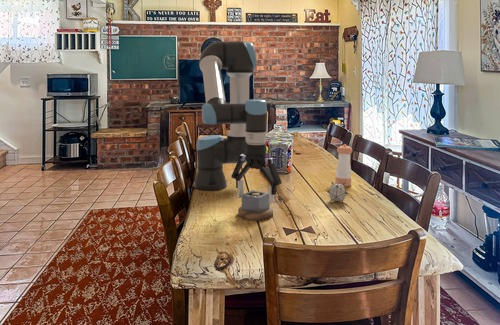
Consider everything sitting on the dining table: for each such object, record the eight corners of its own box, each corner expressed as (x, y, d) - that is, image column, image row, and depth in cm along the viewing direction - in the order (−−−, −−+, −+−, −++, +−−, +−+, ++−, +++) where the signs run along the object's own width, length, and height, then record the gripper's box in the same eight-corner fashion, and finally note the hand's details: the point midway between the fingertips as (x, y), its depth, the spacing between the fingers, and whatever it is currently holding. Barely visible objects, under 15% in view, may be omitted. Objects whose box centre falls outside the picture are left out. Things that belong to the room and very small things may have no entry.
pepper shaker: (348, 187, 196) (350, 146, 192) (332, 185, 200) (334, 144, 196) (353, 183, 202) (355, 143, 198) (338, 181, 206) (340, 142, 202)
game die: (331, 209, 177) (320, 188, 179) (349, 201, 178) (338, 180, 180) (336, 205, 168) (324, 182, 171) (355, 196, 169) (343, 174, 172)
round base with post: (231, 216, 157) (231, 195, 156) (250, 207, 168) (250, 187, 166) (261, 223, 150) (261, 201, 149) (279, 213, 161) (279, 192, 159)
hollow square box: (241, 210, 158) (241, 194, 156) (252, 205, 164) (252, 190, 163) (258, 214, 154) (258, 198, 152) (269, 208, 160) (269, 193, 159)
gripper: (221, 141, 157) (222, 197, 162) (281, 148, 144) (280, 208, 148) (233, 138, 163) (234, 192, 168) (291, 145, 150) (290, 203, 154)
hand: (255, 200), depth 158 cm, fingers open, 13 cm apart
